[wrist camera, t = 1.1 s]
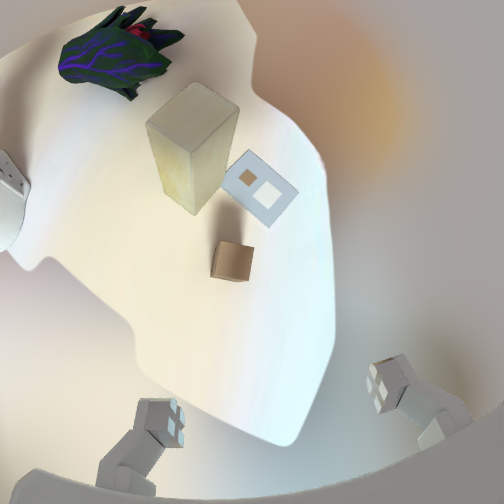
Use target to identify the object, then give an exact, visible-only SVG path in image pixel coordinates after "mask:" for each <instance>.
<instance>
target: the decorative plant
mask: <svg viewBox="0 0 504 504" xmlns="http://www.w3.org/2000/svg"><path fill="white" fill-rule="evenodd" d="M124 8H126V7H124V6H120V7H117V8H116V9H115V10H114V11H113V12H112V13H111V14H110V15H109V16H107V17H106V18H105V19H104V20H103V21H102V22H100V23H99V24H98V25H96V26H95V27H94V28H93V29H91V30H90V31H88V32H87V33H85V34H83V35H81V36H79V37H76V38H74V39H72V40H71V41H69V42H68V43H67V44H66V45H64V46H63V48H62V52H61V56H60V60H59V64H58V70H59V74H60V76H61V77H63V78H64V79H65V80H66V81H68V82H70V83H75V84H77V83H84V82H90V83H94V84H97V85H100V86H103V87H105V88H108V89H111V90H113V91H116V92H118V93H119V94H121V95H123V96H125V97H126V98H127V99H128V100H130V101H132V100H133V99H134V98H136V97H137V96H138V95H136V93H135V89H137V88H138V87H139V86H141V85H142V84H141V85H139V82H141V81H143V80H145V79H147V78H152V77H157V76H161V75H163V74H164V73H165V72H166V71H167V70H166V68H167V67H168V66H169V65H170V64H171V63H172V62H171V61H170V60H169V59H167V58H166V57H164V56H163V55H162V54H160V53H159V52H158V51H160V50H162V49H163V48H165V47H168V46H170V45H172V44H174V43H176V42H178V41H180V40H181V39H182V38H183V37H184V36H185V35H184V34H183V33H181V32H180V31H178V30H160V29H151V28H152V27H153V25H154V24H155V23H156V22H158V21H156V20H154V19H152V18H148V19H145V20H143V21H141V22H139V23H136V24H134V25H132V24H133V23H134V22H135V21H136V20H137V19H138V18H139V17H140V16H141V15H142V13H143V12H144V11H145V10H146V8H147V7H142V6H140V7H138V8H136V9H134V10H132V11H130V12H128V13H126V12H124V13H123V14H122V12H123V10H124ZM121 14H122V15H121ZM131 25H132V26H131Z"/></svg>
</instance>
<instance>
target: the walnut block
mask: <svg viewBox="0 0 504 504" xmlns="http://www.w3.org/2000/svg"><path fill="white" fill-rule="evenodd" d="M253 252H254V247H249V246H244V245H239V244H235V243H230V242H225V241H221V242H220V243H219V245H218V247H217V248H216V250H215V255H214V260H213V266H212V271H211V277H213V278H218V279H223V280H229V281H234V282H243V281H249V276H250V270H251V264H252V258H253Z"/></svg>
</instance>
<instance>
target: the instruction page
mask: <svg viewBox="0 0 504 504" xmlns="http://www.w3.org/2000/svg"><path fill="white" fill-rule="evenodd" d="M220 187H221V188H222V189H224V190H225V191H226V192H227V193H228V194H229V195H231V196H232V197H233V198H234V199H235V200H236V201H238V202H239V203H240V204H241V205H242V206H243V207H245V208H246V209H247V210H248V211H249V212H250V213H251V214H253V215H254V216H255V217H256V218H257V219H258V220H260V221H261V222H262V223H263V224H264V225H265V226H266V227H267V228H270V227H271V226H272V224H273V223H274V222H275V221H276V220H277V218H278V217H279V216H280V215H281V214H282V212H283V211H284V210H285V209H286V208H287V206H288V205H289V204H290V203H291V202H292V201H293V199H294V198H295V197H296V196H297V195H298V193H299V192H298V191H297V190H296V189H294V188H293V187H292V186H291V185H290V184H289V183H288V182H287V181H285V180H284V179H283V178H282V177H281V176H280V175H279V174H277V173H276V172H275V171H274V170H273V169H272V168H270V167H269V166H268V165H267V164H266V163H265V162H263V161H262V160H261V159H260V158H259V157H257V156H256V155H255V154H254V153H253V152H251V151H250V150H248V151H247V152H246V153H245V154H244V155H243V156H242V157H241V158H240V159H239V160H238V161H237V162H236V163H235V164H234V165H233V166H232V167H231V168H230V169H229V170H228V171H227V172H226V173H225V176H224V181H223V183H222V185H221V186H220Z"/></svg>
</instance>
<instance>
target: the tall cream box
mask: <svg viewBox="0 0 504 504" xmlns="http://www.w3.org/2000/svg"><path fill="white" fill-rule="evenodd" d="M239 111H240V109H239V107H238V106H237V105H235V104H234V103H232V102H230V101H229V100H227V99H226V98H224V97H222V96H221V95H219V94H217V93H216V92H214V91H212V90H210V89H209V88H207V87H205V86H204V85H202V84H200V83H198V82H193V83H191V84H190V85H189V86H187V87H186V88H185V89H183V90H182V91H181V92H180V93H179V94H177V95H176V96H175V97H174V98H172V99H171V100H170V101H169V102H168V103H167V104H165V105H164V106H163V107H162V108H161V109H160V110H158V111H157V112H156V113H155V114H154V115H153V116H152V117H151V118H149V119H148V120H147V122H146V123H145V126H146V129H147V133H148V137H149V140H150V144H151V148H152V151H153V155H154V158H155V161H156V165H157V168H158V172H159V175H160V178H161V182H162V185H163V188H164V192H165V194H166V195H167V196H169V197H170V198H171V199H172V200H174V201H175V202H176V203H178V204H179V205H180V206H182V207H183V208H184V209H185V210H187V211H188V212H189V213H191V214H192V215H194V216H195V215H196V214H197V213H198V212H199V211H200V209H201V208H202V207H203V206H204V205H205V203H206V202H207V201H208V200H209V199H210V197H211V196H212V195H213V194H214V193H215V192H216V190H217V189H218V188H219V187H220V186H221V185H222V183H223V181H224V176H225V171H226V167H227V162H228V158H229V153H230V148H231V144H232V140H233V136H234V132H235V128H236V124H237V120H238V116H239Z"/></svg>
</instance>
